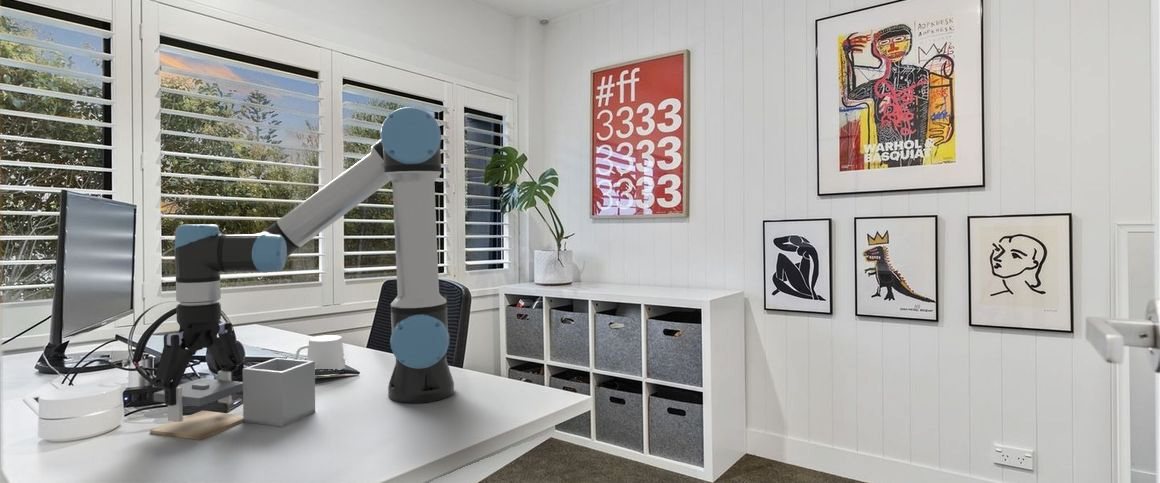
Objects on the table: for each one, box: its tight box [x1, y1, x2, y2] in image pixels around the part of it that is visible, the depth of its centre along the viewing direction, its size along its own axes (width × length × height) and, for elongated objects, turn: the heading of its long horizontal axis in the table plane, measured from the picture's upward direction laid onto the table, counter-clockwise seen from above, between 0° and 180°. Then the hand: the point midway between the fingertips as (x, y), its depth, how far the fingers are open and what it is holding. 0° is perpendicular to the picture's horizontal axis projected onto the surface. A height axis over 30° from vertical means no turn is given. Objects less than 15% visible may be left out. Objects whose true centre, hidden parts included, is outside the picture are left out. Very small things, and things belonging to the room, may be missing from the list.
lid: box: [153, 377, 243, 407], centre depth 123 cm, size 11×11×3 cm
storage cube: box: [242, 357, 316, 427], centre depth 129 cm, size 10×10×11 cm
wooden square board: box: [149, 410, 245, 441], centre depth 124 cm, size 12×12×1 cm
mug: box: [295, 334, 346, 370], centre depth 163 cm, size 12×9×8 cm
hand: (201, 411), depth 124 cm, fingers closed on lid, 11 cm apart
